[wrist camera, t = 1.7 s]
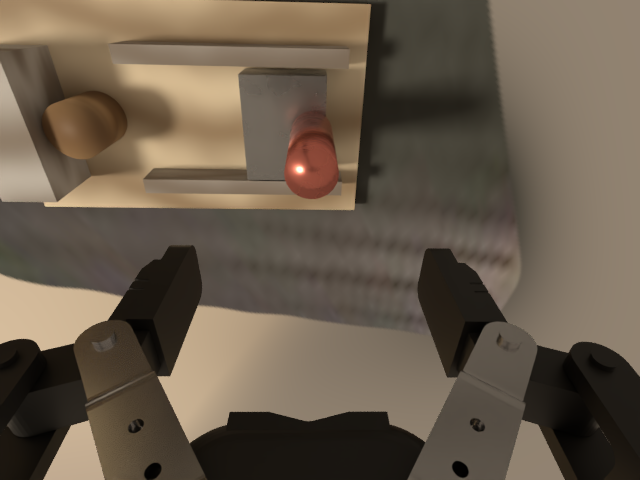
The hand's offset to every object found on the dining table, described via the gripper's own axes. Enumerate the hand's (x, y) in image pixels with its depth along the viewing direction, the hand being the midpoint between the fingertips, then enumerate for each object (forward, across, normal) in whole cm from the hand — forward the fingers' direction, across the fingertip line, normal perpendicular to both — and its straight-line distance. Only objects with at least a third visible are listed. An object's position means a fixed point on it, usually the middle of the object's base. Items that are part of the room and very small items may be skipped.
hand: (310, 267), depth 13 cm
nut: (+20, +17, 0) cm, 26 cm away
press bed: (+21, +10, 0) cm, 23 cm away
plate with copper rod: (+20, +2, 0) cm, 20 cm away
